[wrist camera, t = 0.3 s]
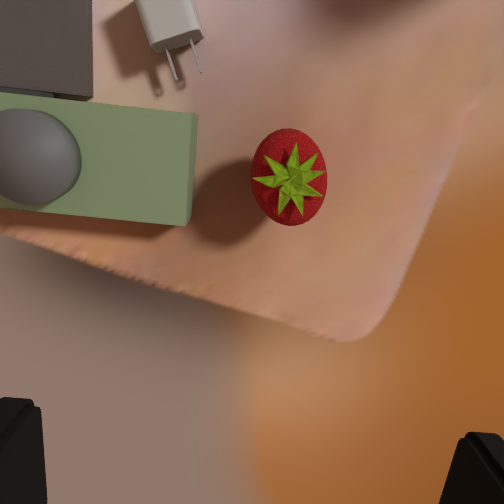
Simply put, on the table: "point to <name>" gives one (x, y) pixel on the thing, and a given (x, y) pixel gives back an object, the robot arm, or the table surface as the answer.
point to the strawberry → (289, 177)
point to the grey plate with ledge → (47, 46)
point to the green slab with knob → (95, 159)
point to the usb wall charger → (170, 25)
